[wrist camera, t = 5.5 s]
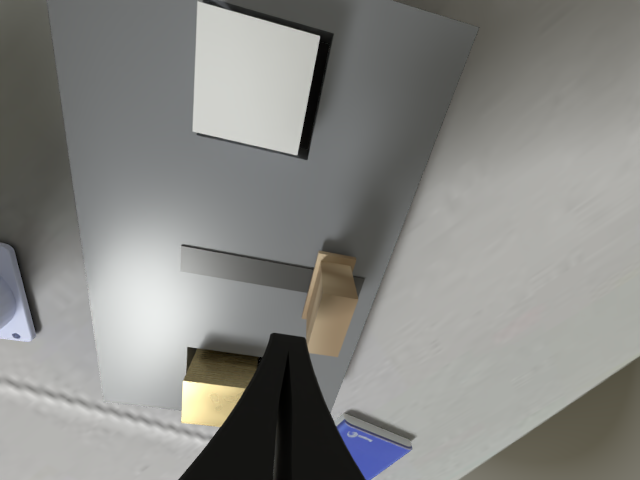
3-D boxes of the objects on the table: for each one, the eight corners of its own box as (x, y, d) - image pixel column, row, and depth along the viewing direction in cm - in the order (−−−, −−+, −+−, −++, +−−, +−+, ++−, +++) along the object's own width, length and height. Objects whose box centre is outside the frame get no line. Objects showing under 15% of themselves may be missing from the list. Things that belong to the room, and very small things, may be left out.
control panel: (127, 366, 23) (102, 403, 21) (92, -67, 12) (27, -114, 9) (323, 391, 25) (325, 428, 23) (447, 39, 14) (480, 27, 11)
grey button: (215, 124, 14) (192, 131, 11) (222, 21, 12) (197, 0, 9) (299, 143, 14) (297, 155, 12) (318, 48, 13) (320, 36, 10)
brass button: (197, 381, 21) (181, 422, 19) (200, 341, 20) (183, 380, 17) (252, 388, 22) (244, 429, 19) (259, 350, 20) (252, 389, 18)
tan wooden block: (302, 315, 17) (300, 357, 14) (318, 250, 15) (320, 285, 13) (335, 320, 17) (339, 363, 15) (355, 257, 16) (365, 293, 13)
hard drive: (345, 424, 26) (273, 487, 30) (413, 451, 28) (338, 506, 33) (343, 407, 27) (275, 469, 32) (408, 434, 30) (337, 489, 34)
